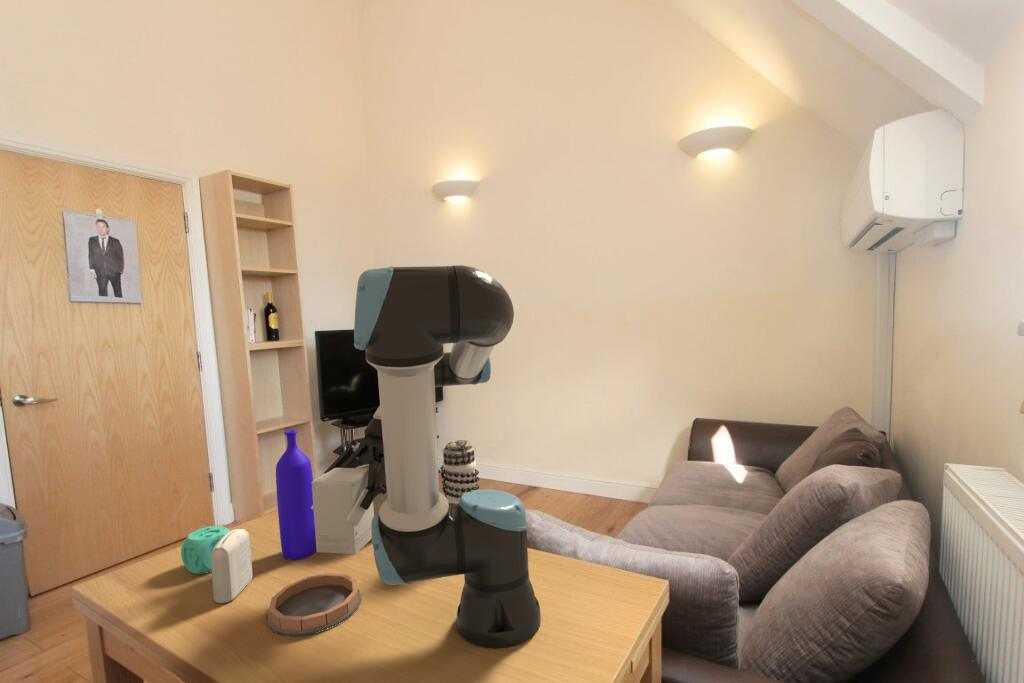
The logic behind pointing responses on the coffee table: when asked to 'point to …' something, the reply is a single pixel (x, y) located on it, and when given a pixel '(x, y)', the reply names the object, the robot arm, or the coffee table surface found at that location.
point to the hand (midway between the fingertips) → (333, 517)
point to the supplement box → (340, 511)
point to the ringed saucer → (314, 604)
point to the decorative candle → (458, 470)
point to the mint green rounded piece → (201, 548)
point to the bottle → (295, 501)
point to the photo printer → (231, 565)
